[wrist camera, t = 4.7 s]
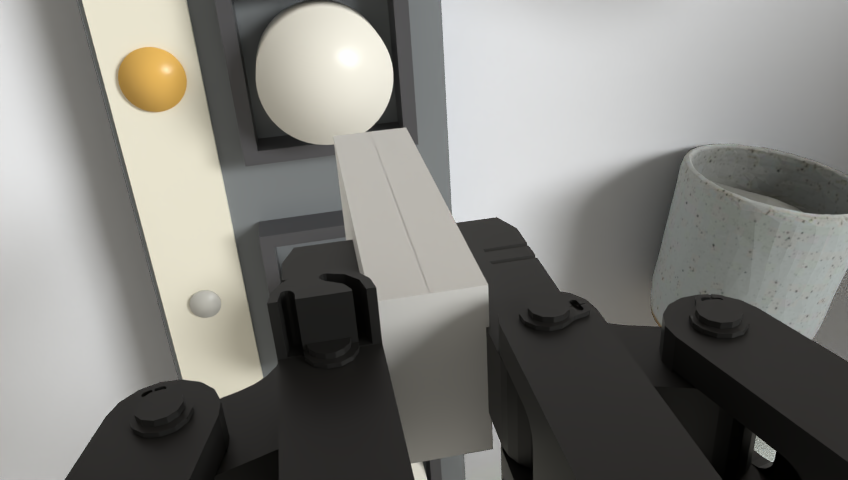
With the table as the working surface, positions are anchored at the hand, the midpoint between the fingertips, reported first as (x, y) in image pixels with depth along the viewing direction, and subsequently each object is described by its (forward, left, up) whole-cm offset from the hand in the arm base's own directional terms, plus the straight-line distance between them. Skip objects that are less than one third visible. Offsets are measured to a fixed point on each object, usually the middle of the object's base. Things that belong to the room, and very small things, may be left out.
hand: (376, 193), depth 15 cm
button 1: (0, 0, -12) cm, 12 cm away
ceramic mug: (-19, +10, -15) cm, 26 cm away
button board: (+2, +9, -15) cm, 17 cm away
